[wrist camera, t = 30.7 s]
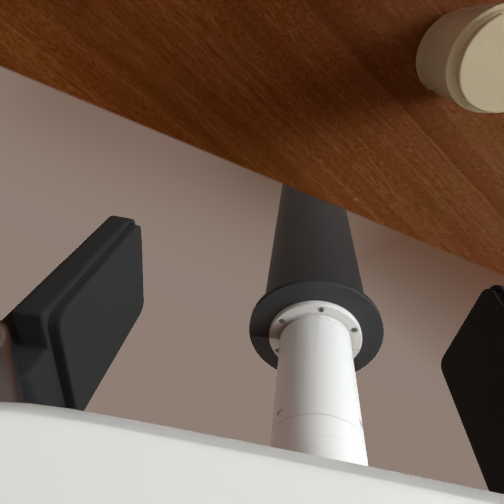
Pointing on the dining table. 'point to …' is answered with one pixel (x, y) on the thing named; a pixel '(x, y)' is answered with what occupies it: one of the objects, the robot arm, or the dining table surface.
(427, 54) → the jar
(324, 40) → the dining table surface
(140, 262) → the robot arm
